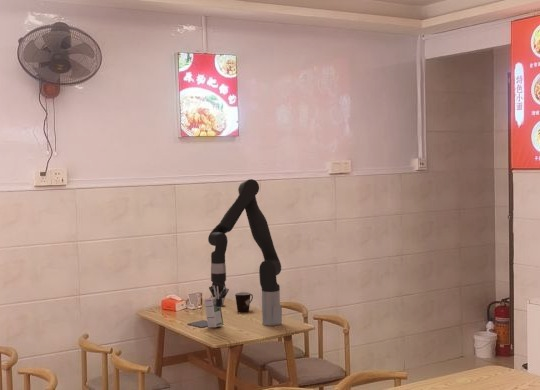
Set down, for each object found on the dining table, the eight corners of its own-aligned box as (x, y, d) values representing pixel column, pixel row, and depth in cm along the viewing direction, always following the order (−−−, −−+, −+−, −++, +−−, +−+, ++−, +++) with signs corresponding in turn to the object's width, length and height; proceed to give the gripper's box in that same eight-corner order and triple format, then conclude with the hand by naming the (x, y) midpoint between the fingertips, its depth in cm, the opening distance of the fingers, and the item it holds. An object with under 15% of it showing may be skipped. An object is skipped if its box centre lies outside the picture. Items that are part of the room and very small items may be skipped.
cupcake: (211, 304, 414) (210, 287, 414) (226, 304, 413) (226, 287, 413) (208, 307, 405) (207, 290, 405) (224, 307, 404) (223, 290, 404)
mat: (218, 324, 361) (218, 323, 361) (202, 327, 353) (202, 326, 353) (203, 320, 369) (203, 320, 369) (187, 324, 361) (187, 323, 361)
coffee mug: (238, 313, 386) (238, 295, 386) (233, 310, 394) (232, 293, 394) (258, 311, 391) (257, 293, 390) (252, 308, 399) (252, 291, 398)
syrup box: (216, 327, 350) (212, 298, 351) (207, 327, 354) (203, 299, 354) (223, 325, 355) (219, 296, 355) (215, 325, 358) (211, 297, 359)
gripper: (232, 272, 348) (233, 306, 349) (215, 269, 358) (216, 303, 358) (221, 274, 343) (222, 309, 344) (204, 271, 352) (204, 305, 353)
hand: (219, 306), depth 351 cm, fingers closed
